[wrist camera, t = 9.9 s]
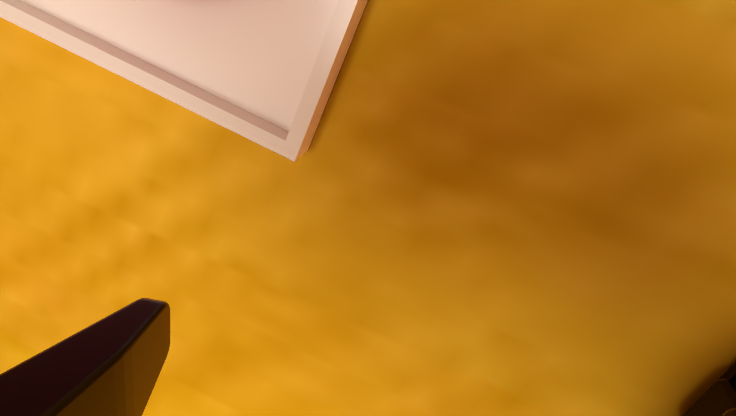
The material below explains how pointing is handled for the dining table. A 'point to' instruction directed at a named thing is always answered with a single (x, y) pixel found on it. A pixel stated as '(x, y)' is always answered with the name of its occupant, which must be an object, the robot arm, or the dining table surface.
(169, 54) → the dish
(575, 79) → the dining table surface
